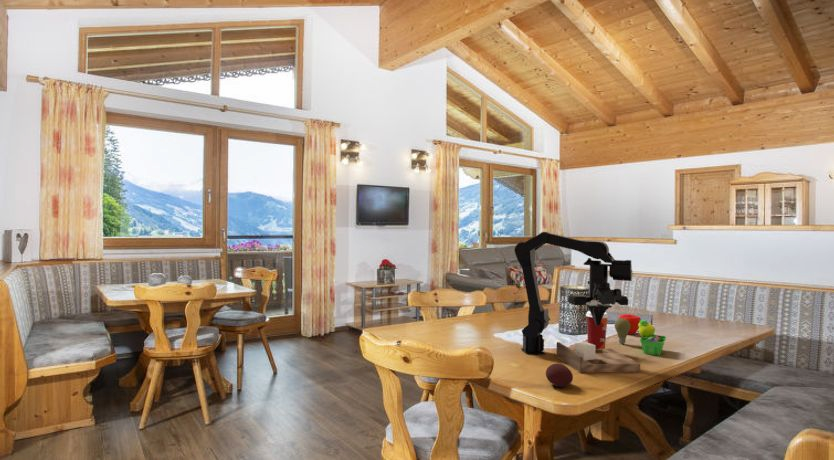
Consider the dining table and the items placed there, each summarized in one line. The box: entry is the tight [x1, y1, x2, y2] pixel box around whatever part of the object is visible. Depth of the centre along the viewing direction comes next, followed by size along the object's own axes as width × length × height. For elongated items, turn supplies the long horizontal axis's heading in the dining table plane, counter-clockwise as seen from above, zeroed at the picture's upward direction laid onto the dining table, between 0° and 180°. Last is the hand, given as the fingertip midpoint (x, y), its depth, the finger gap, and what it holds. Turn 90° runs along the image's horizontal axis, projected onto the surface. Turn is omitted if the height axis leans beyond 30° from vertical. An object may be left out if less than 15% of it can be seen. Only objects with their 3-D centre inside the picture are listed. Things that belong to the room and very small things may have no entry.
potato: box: [545, 362, 574, 388], centre depth 138 cm, size 8×9×6 cm
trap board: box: [555, 341, 641, 374], centre depth 159 cm, size 20×18×5 cm
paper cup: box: [585, 310, 609, 349], centre depth 176 cm, size 8×8×14 cm
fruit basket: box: [638, 319, 667, 356], centre depth 176 cm, size 11×9×11 cm
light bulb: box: [614, 317, 630, 345], centre depth 186 cm, size 6×6×10 cm
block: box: [574, 341, 595, 361], centre depth 157 cm, size 4×4×4 cm
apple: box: [618, 313, 642, 335], centre depth 205 cm, size 9×9×8 cm
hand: (597, 325), depth 163 cm, fingers closed
